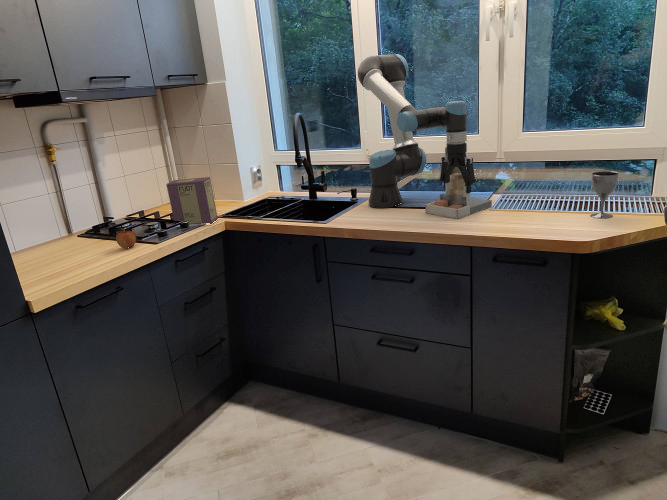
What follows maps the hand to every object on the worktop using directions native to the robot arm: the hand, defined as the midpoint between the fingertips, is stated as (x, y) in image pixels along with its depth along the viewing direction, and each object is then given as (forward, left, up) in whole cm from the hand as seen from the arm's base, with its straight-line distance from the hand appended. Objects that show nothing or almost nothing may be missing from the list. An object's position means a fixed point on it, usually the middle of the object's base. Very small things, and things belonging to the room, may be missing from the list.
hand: (457, 199), depth 190 cm
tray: (0, -6, -4) cm, 8 cm away
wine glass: (+47, +20, -5) cm, 51 cm away
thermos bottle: (-15, +17, -5) cm, 23 cm away
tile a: (-3, -5, -2) cm, 6 cm away
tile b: (+3, -6, -4) cm, 7 cm away
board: (0, +4, -4) cm, 6 cm away
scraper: (0, 0, -2) cm, 2 cm away
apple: (-73, -111, -5) cm, 133 cm away
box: (-84, -78, -5) cm, 115 cm away
